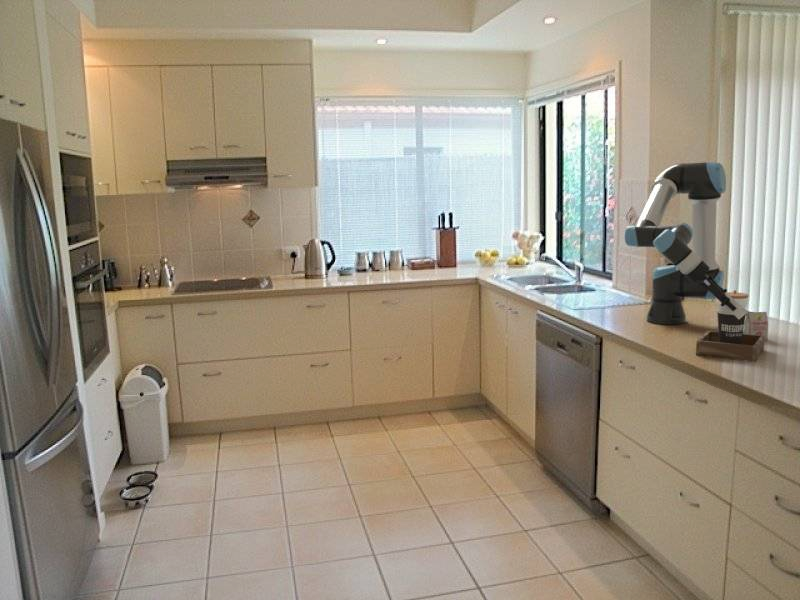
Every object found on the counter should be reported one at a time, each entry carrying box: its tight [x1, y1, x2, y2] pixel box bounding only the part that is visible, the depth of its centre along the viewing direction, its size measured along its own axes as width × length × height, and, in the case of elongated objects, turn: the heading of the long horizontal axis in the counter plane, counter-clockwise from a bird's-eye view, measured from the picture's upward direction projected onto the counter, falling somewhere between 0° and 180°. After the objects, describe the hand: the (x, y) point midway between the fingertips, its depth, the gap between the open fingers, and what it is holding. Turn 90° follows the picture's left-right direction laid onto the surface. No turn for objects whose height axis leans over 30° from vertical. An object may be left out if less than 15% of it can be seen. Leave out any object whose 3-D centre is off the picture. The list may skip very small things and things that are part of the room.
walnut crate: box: [695, 330, 765, 363], centre depth 233 cm, size 18×18×5 cm
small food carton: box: [743, 311, 769, 341], centre depth 252 cm, size 4×7×10 cm, turn 90°
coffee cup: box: [715, 304, 748, 344], centre depth 233 cm, size 10×10×15 cm
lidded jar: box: [727, 289, 749, 309], centre depth 303 cm, size 11×11×9 cm
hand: (739, 312), depth 230 cm, fingers open, 13 cm apart
